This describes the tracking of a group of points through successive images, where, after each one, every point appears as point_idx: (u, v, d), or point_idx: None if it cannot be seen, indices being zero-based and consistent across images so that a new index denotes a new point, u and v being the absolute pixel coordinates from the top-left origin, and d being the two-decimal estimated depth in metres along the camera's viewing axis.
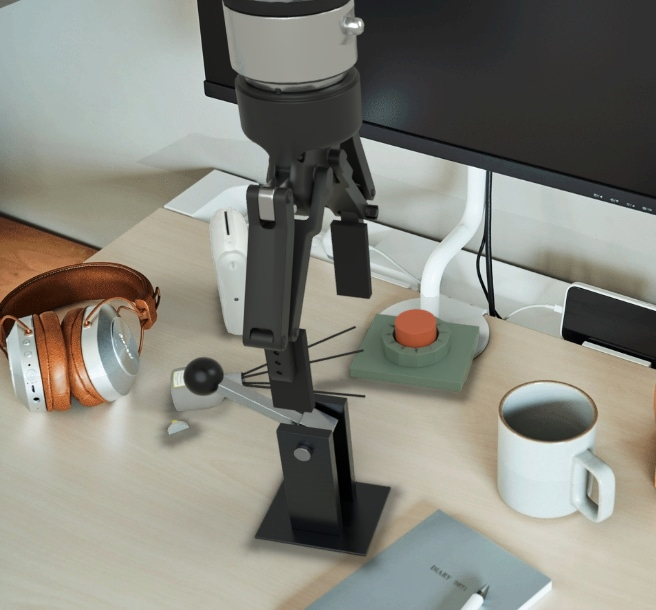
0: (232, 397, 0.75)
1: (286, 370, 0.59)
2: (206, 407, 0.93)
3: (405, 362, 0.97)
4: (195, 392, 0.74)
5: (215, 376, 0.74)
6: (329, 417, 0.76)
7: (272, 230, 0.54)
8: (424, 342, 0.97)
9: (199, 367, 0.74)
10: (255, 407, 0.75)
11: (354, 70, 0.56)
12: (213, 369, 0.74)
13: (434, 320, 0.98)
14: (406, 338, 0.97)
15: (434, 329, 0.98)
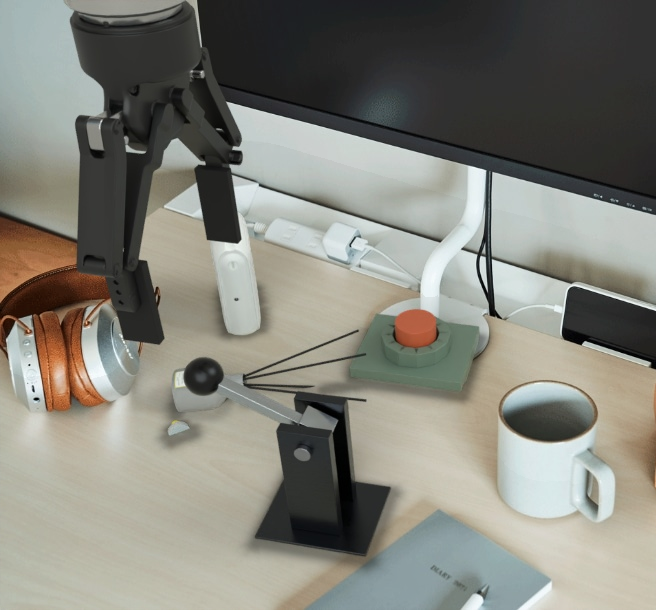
0: (232, 397, 0.75)
1: (127, 300, 0.61)
2: (207, 408, 0.93)
3: (405, 362, 0.97)
4: (195, 392, 0.74)
5: (215, 376, 0.74)
6: (329, 417, 0.76)
7: (102, 159, 0.56)
8: (424, 342, 0.97)
9: (199, 367, 0.74)
10: (255, 407, 0.75)
11: (188, 8, 0.58)
12: (213, 369, 0.74)
13: (434, 320, 0.98)
14: (406, 338, 0.97)
15: (434, 329, 0.98)
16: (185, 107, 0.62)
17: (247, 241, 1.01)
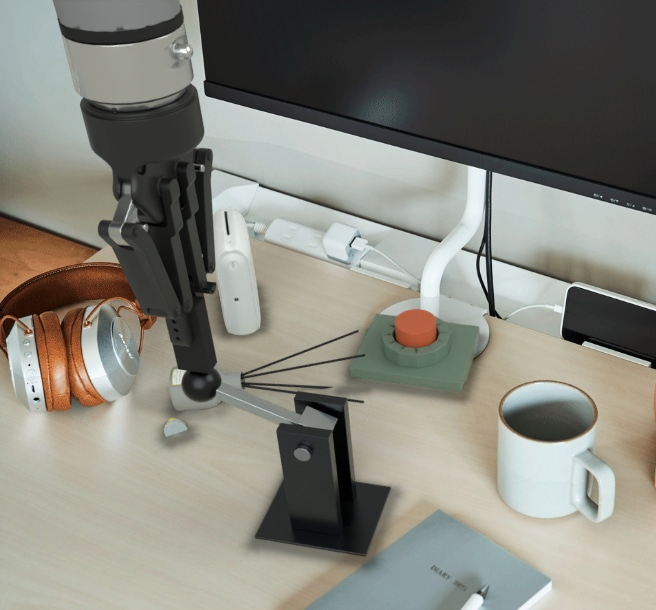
0: (230, 402, 0.76)
1: (183, 336, 0.71)
2: (204, 406, 0.92)
3: (405, 362, 0.97)
4: (193, 399, 0.75)
5: (212, 382, 0.75)
6: (328, 416, 0.76)
7: (133, 251, 0.62)
8: (424, 342, 0.97)
9: (195, 374, 0.74)
10: (254, 411, 0.76)
11: (192, 90, 0.62)
12: (209, 375, 0.75)
13: (434, 320, 0.98)
14: (406, 338, 0.97)
15: (434, 329, 0.98)
16: (189, 179, 0.66)
17: (247, 241, 1.01)
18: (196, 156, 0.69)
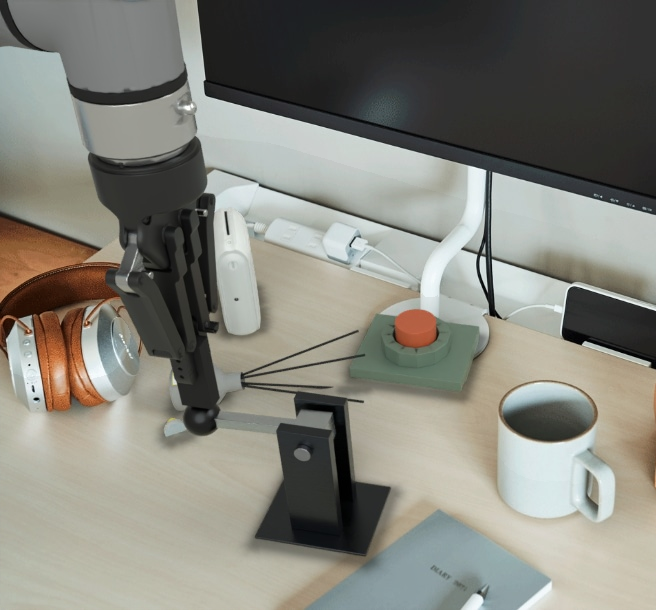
0: (231, 426, 0.77)
1: (187, 375, 0.73)
2: None
3: (405, 362, 0.97)
4: (196, 433, 0.77)
5: (207, 412, 0.77)
6: (323, 412, 0.76)
7: (139, 298, 0.65)
8: (424, 342, 0.97)
9: (190, 409, 0.77)
10: (254, 428, 0.77)
11: (195, 143, 0.64)
12: None
13: (434, 320, 0.98)
14: (406, 338, 0.97)
15: (434, 329, 0.98)
16: (193, 226, 0.68)
17: (247, 241, 1.01)
18: (199, 201, 0.72)
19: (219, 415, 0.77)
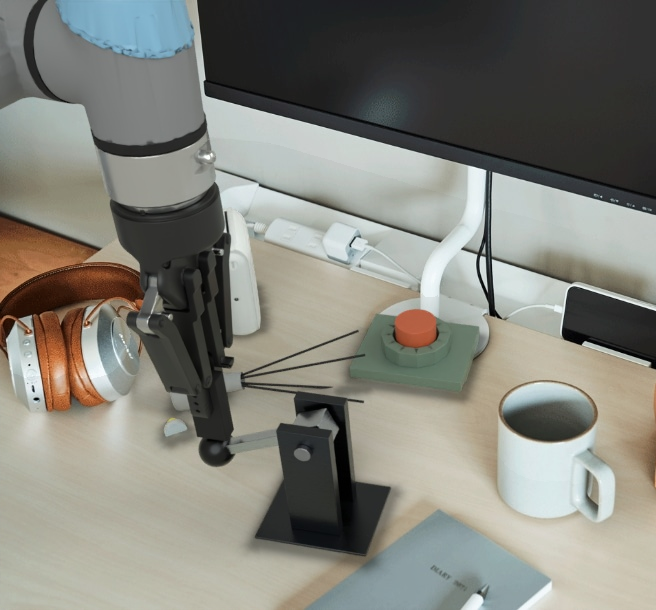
0: (242, 449, 0.79)
1: (203, 409, 0.75)
2: None
3: (405, 362, 0.97)
4: (213, 464, 0.79)
5: (217, 441, 0.79)
6: (317, 411, 0.76)
7: (158, 339, 0.67)
8: (424, 342, 0.97)
9: (202, 442, 0.79)
10: (262, 444, 0.78)
11: (214, 189, 0.66)
12: None
13: (434, 320, 0.98)
14: (406, 338, 0.97)
15: (434, 329, 0.98)
16: (210, 267, 0.70)
17: (247, 241, 1.01)
18: None
19: (229, 441, 0.79)
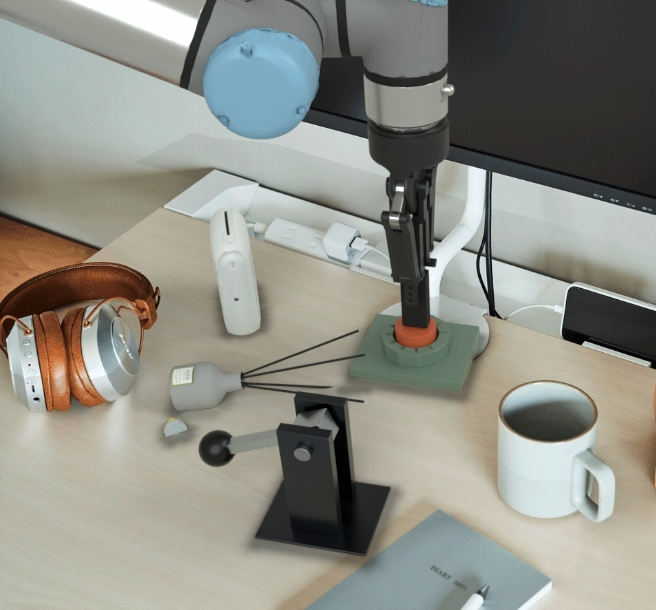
0: (242, 449, 0.79)
1: (415, 299, 0.94)
2: (204, 406, 0.92)
3: (405, 362, 0.97)
4: (213, 464, 0.79)
5: (217, 441, 0.79)
6: (317, 411, 0.76)
7: (400, 233, 0.86)
8: None
9: (202, 442, 0.79)
10: (262, 444, 0.78)
11: (445, 117, 0.85)
12: (212, 437, 0.79)
13: (434, 324, 0.98)
14: (406, 342, 0.97)
15: (434, 333, 0.98)
16: (432, 181, 0.89)
17: (247, 241, 1.01)
18: None
19: (229, 441, 0.79)
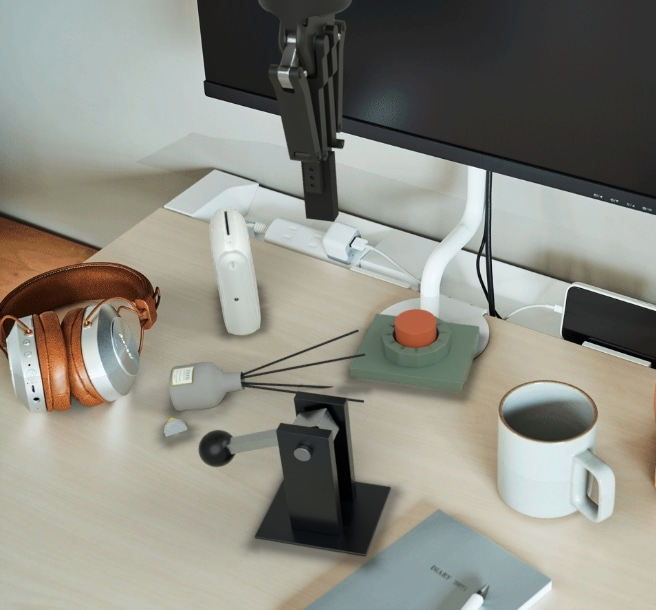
0: (242, 449, 0.79)
1: (318, 183, 0.82)
2: (204, 406, 0.92)
3: (405, 362, 0.97)
4: (213, 464, 0.79)
5: (217, 441, 0.79)
6: (317, 411, 0.76)
7: (293, 94, 0.74)
8: (424, 342, 0.97)
9: (202, 442, 0.79)
10: (262, 444, 0.78)
11: None
12: (212, 437, 0.79)
13: (434, 320, 0.98)
14: (406, 338, 0.97)
15: (434, 329, 0.98)
16: (334, 40, 0.77)
17: (247, 241, 1.01)
18: None
19: (229, 441, 0.79)
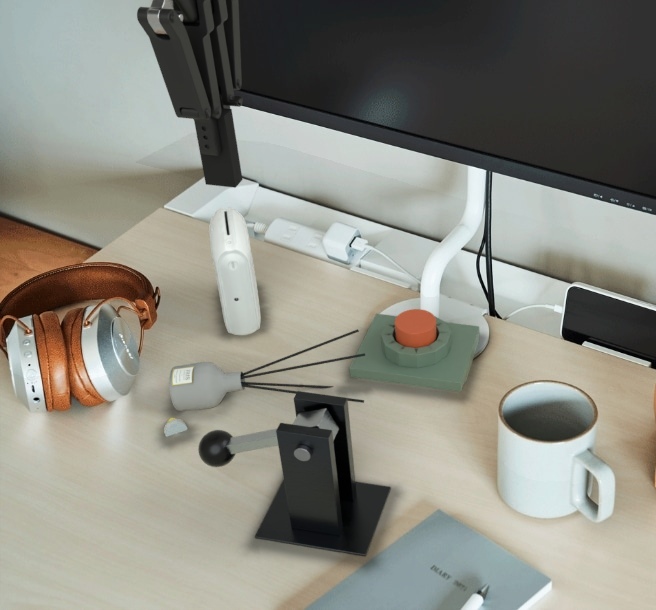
0: (242, 449, 0.79)
1: (212, 144, 0.75)
2: (204, 406, 0.92)
3: (405, 362, 0.97)
4: (213, 464, 0.79)
5: (217, 441, 0.79)
6: (317, 411, 0.76)
7: (169, 41, 0.67)
8: (424, 342, 0.97)
9: (202, 442, 0.79)
10: (262, 444, 0.78)
11: None
12: (212, 437, 0.79)
13: (434, 320, 0.98)
14: (406, 338, 0.97)
15: (434, 329, 0.98)
16: None
17: (247, 241, 1.01)
18: None
19: (229, 441, 0.79)
